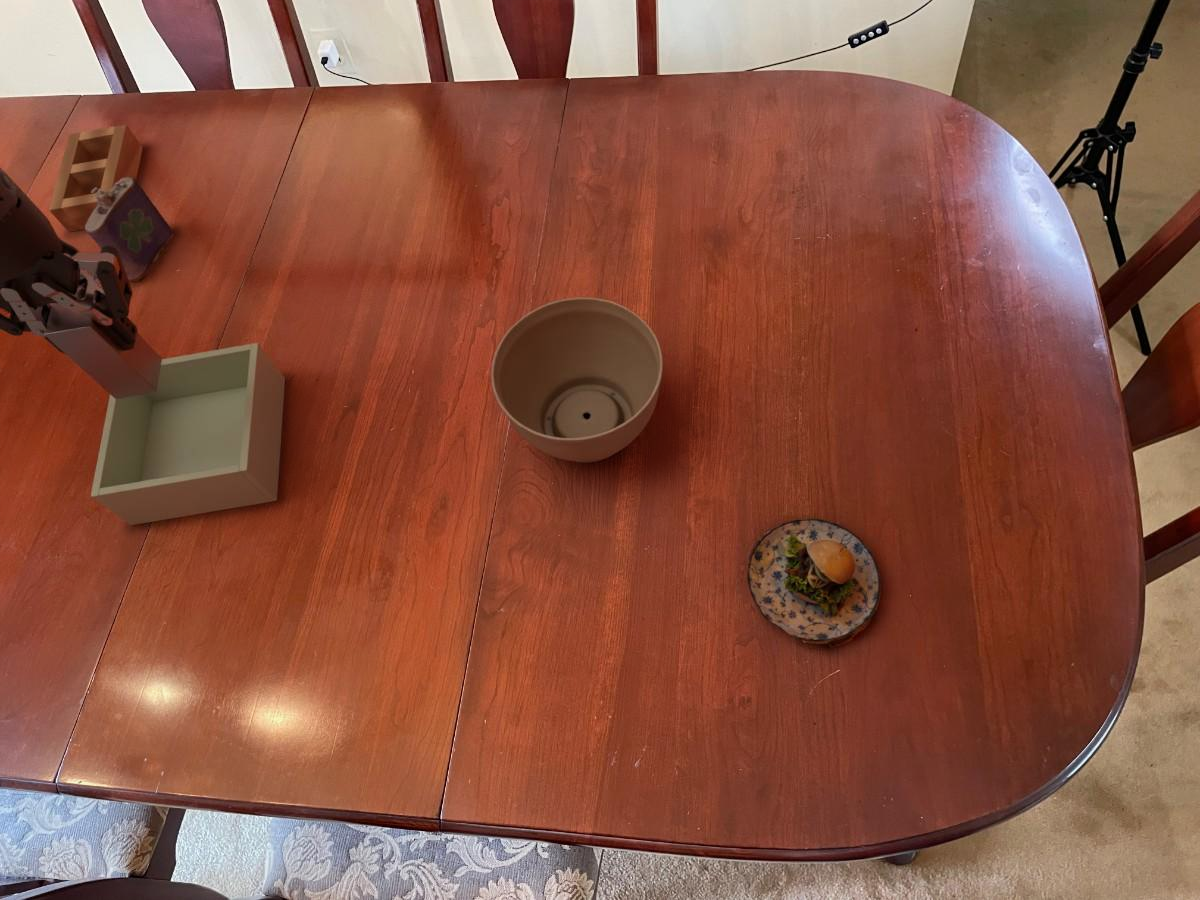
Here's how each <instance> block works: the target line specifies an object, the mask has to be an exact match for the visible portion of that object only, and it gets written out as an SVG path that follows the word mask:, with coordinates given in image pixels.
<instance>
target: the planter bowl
mask: <svg viewBox="0 0 1200 900" xmlns="http://www.w3.org/2000/svg"><path fill="white" fill-rule="evenodd" d="M661 348H662V347H661V346H660V343H659V341H658V339H657V336H656V335H655V333H654V331H653V329H652V328H651V327H650V325H648V323H647V322H646V321H645V320H644V319H643V318H642V317H640V316H639V315H638V314H637V313H635V312H634V311H633V310H631V309H630V308H628V307H626V306H623V305H622V304H619V303H617V302H614V301H612V300H608V299H603V298H597V297H583V296H581V297H570V298H563V299H559V300H554V301H551V302H547V303H546V304H544V305H541V306H538V307H537V308H535V309H533V310H532V311H529V312H528V313H527V314H525V315H524V316H522V317H521V318H519V319H518V320H517V321H516V322H515V323H514V324H513V325H512V326H511V327H510V328H509V329H508V330H507V331H506V332H505V334H504V335H503V336H502V338H501V340H500V342H499V343H498V345H497V347H496V349H495V352H494V355H493V358H492V360H491V361H492V362H491V370H490V376H491V377H490V378H491V379H490V381H491V387H492V391H493V394H494V397H495V399H496V401H497V404H498V405H499V408H500V409H501V410H502V412H503V413H504V415H505V416H506V417H507V419H508V420H509V422H510V424H511V426H512V427H513V428H514V429H515V431H516V432H517V433H518V434H519V435H520V436H521V437H522V438H523V439H524V440H525V441H526V442H527V443H528V444H530V445H531V446H532V447H534V448H535V449H537V450H538V451H540V452H542V453H544V454H545V455H548V456H550V457H553V458H556V459H559V460H563V461H569V462H576V463H596V462H599V461H602V460H605V459H608V458H610V457H611V456H613V455H615V454H616V453H618V452H620V451H621V450H623V449H624V448H626V447H627V446H628V445H630V444H631V443H632V442H633V441H634V440H635V439H636V438H637V437H638V436H639V435H640V434H641V433H642V431H643V430H644V429H645V427H646V426H647V425H648V422H650V419H651V417H652V415H653V413H654V411H655V408H656V405H657V402H658V398H659V394H660V388H661V383H662V379H663V371H664V370H663V369H664V363H663V362H664V360H663V354H662V353H663V352H662V349H661ZM585 414H589V418H585V416H584V415H585Z"/></svg>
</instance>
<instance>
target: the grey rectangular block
mask: <svg viewBox="0 0 1200 900" xmlns="http://www.w3.org/2000/svg"><path fill="white" fill-rule="evenodd" d="M93 302H94V304H95V305H97V306H99V303H98V302H96V301H95V300H93ZM50 305H51V309H50V313H49V317H48V321H47V325H46V329H45V333H44V335H45V336H46V337H47V338H48V339H50V340H51V341H52V342H53V343H54V344H55V345H56V346H57V347H58V348H59V349H61V350H62V351H63V352H64V353H65V354H66V356H67V357H68V358H69V359H70V360H71V361H72V362H74V363H75V364H76V365H77V366H78V367H79V368H80V369H81V370H82V371H83V372H84V373H86V374H87V375H88V376H89V377H90V378H91V379H93V381H95V382H96V383H97V384H98V385H99V386H100V387H101V388H102V389H103V390H104V391H106V393H108V394H109V396H110V395H111V396H113V397H114V398H115V399H120V398H126V397H132V396H138V395H143V394H149V393H155V392H157V387H158V381H159V375H160V368H161V362H162V359H163V357H162V356H161V355H160V354H159V353H158V352H157V351H156V350H155V349H154V348H153V347H152V346H151V345H150V344H149V343H148V341H146V339H145V338H144V337H143V336H142V335H141V334H140V333H139V332H138V331H137V337H136V342H135V344H134V348H133V349H131V350H123V349H122V348H121V347H120V346H119V345H118V344H117V343H116V342H115V341H114V340H113V339H112V338H111V337H110V336H109V335H108V334H107V333H106V332H105V331H104V330H103V329H102V328H101V324H99V323H97V322H96V321H94V320H93V319H91V318H89V317H88V316H86V315H85V314H83V313H80V314H75V313H73V312H72V311H70V310H69V309H67V308H66V307H64V306H63V305H61V304H59V303H51V304H50ZM65 354H64V355H65Z"/></svg>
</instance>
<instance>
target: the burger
mask: <svg viewBox="0 0 1200 900" xmlns="http://www.w3.org/2000/svg"><path fill="white" fill-rule="evenodd" d="M746 577H747V578H746V579H747V583H748V588H749V592H750V595H751V596H752V598H753V601H754V602H755V604H756V606H757V608H758V610H759V612H760V613H761V615H762V616H763V617H764V619H766V620H767V621H769V622H770V623H772V624H773V625H774V626H776V627H777V628H779V629H781V631H783V632H784V633H785V634H787V635H788V636H790V637H793V638H796V639H798V640H800V641H802V642H803V643H804V644H805V643H806V644H810V645H826V644H827V645H829V647H830V648H833V649H834V648H836V647H839V646H841V645H843V644H847V643H850V642H851V641H852V640H853V638H854V637H855V636H856V635H857V634H858V633H860V632H861V631H864V630H865V629H866V628H867V627H868V626H869V625H870V624H871V622H872V620H873V619H874V616H875V615H876V614H877V613H876V612H877V610H878V607H879V604H880V599H881V593H882V579H881V573H880V567H879V565H878V562H877V561H876V559H875V556H874V554H873V551H872V550H871V548H869V547H868V546H867V544H866V543H865V541H863V539H862V538H860V537H859V536H858V535H856V534H855V533H854V532H852V531H851V530H850V529H848V528H846V527H844V526H842V525H840V524H838V523H836V522H834V521H829V520H826V519H821V518H813V517H811V518H810V517H809V518H799V519H798V518H797V519H793V520H789V521H786V522H783V523H781V524H779V525H777V526H775V527H773V528H772V529H770V530H768V531H767V532H766V533H765V534H764V535H763V536H762V537H761V538H760V539H759V540H757V541H756V543H755V544H754V546H753V548H752V549H751V551H750V553H749V556H748V559H747V574H746Z"/></svg>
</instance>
